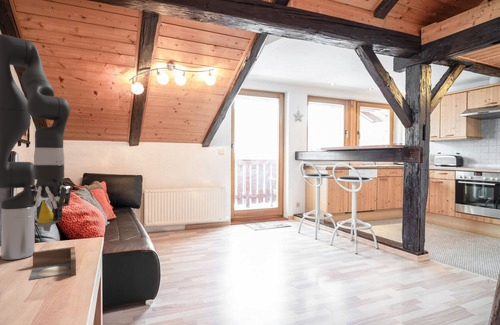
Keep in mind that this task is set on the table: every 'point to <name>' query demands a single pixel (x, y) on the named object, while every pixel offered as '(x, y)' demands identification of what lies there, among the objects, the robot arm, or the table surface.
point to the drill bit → (45, 217)
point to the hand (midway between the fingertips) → (49, 219)
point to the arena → (54, 263)
